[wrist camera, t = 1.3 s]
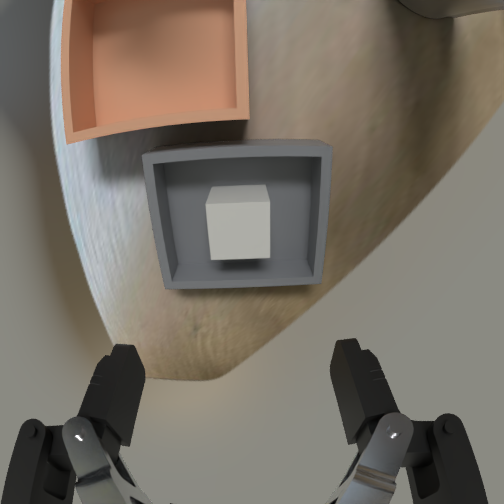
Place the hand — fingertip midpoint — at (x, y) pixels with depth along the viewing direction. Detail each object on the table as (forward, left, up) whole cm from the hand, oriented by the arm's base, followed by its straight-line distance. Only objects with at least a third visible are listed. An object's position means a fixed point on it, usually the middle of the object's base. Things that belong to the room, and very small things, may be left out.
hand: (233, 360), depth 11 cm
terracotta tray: (+6, -15, -17) cm, 24 cm away
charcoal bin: (0, 0, -17) cm, 17 cm away
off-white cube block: (0, 0, -16) cm, 16 cm away
